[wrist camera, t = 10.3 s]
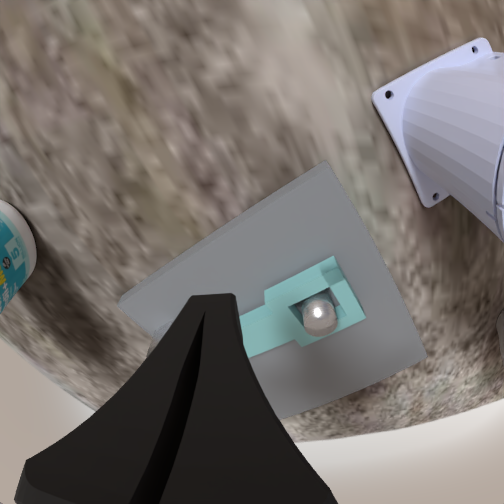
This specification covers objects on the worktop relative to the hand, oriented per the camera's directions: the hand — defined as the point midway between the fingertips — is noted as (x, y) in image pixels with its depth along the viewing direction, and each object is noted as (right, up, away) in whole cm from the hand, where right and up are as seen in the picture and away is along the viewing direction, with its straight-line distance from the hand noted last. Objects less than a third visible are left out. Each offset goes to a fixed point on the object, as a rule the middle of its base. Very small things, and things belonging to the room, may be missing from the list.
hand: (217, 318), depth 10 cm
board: (+4, -4, +14) cm, 15 cm away
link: (+1, -3, +12) cm, 12 cm away
